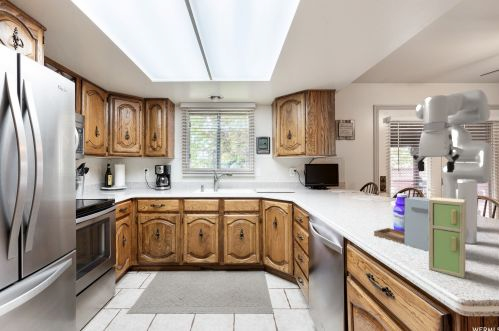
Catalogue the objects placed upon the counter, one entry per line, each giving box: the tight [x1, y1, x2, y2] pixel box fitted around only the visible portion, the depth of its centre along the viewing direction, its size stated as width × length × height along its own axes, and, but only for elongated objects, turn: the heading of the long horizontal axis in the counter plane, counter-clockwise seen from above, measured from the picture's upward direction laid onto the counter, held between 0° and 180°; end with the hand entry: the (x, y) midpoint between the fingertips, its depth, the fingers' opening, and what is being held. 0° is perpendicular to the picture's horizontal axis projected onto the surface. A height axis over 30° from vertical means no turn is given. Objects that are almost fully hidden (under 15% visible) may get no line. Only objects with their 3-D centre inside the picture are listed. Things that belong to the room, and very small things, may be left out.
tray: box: [373, 227, 405, 244], centre depth 99 cm, size 10×11×2 cm
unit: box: [404, 196, 431, 252], centre depth 87 cm, size 9×12×18 cm
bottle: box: [392, 193, 409, 232], centre depth 108 cm, size 7×6×17 cm
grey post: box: [455, 179, 479, 245], centre depth 94 cm, size 6×6×25 cm
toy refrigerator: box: [428, 196, 466, 279], centre depth 69 cm, size 8×7×21 cm
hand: (435, 171), depth 92 cm, fingers open, 9 cm apart
